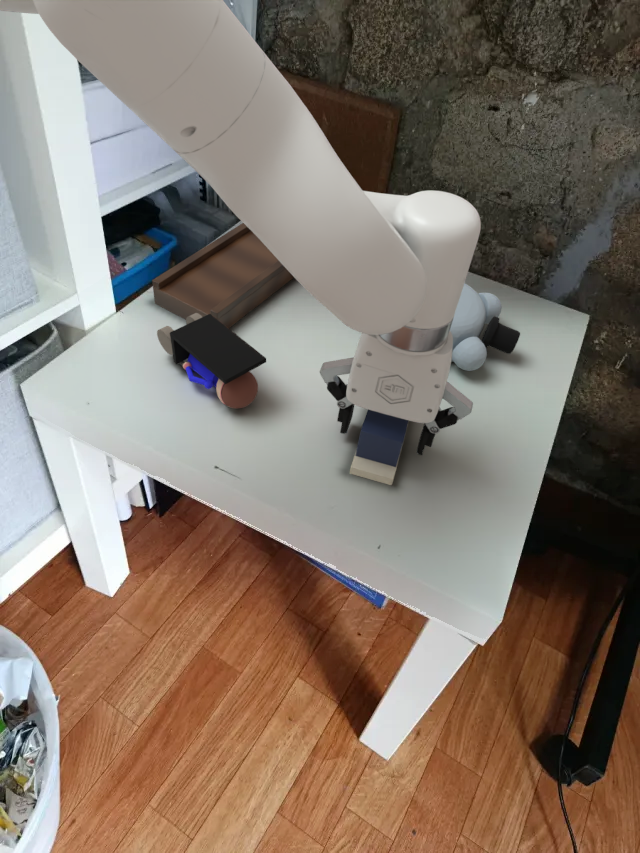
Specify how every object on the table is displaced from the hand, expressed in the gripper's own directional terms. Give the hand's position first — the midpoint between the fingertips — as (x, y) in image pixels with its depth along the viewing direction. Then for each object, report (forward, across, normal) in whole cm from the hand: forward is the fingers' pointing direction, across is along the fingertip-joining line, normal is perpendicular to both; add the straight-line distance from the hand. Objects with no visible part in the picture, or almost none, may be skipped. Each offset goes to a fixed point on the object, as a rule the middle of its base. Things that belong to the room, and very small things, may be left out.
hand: (383, 435), depth 76 cm
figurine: (+1, +4, +22) cm, 23 cm away
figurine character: (+1, -23, +3) cm, 23 cm away
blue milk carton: (+1, 0, 0) cm, 1 cm away
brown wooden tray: (+1, -27, +26) cm, 37 cm away
